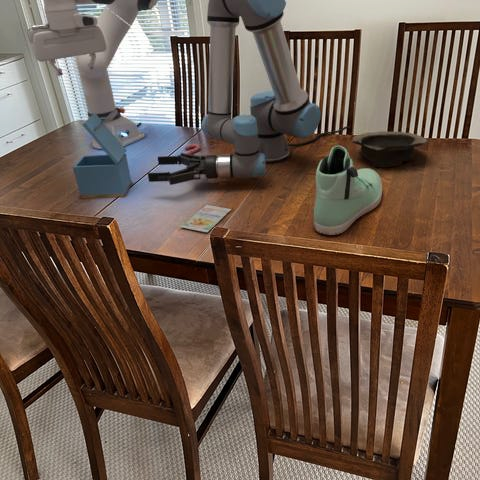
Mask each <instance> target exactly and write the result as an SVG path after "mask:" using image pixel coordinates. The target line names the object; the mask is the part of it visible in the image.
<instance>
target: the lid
mask: <svg viewBox="0 0 480 480" xmlns="http://www.w3.org/2000/svg"><path fill="white" fill-rule="evenodd" d="M117 114H118V111H117V110H113V111H112V112H111V114H110V115H109V116H108V117H107V118H105V119H104V120H103V121H101V119H100V118H99V117H98V116H97V115H96V113H94V114H93V115H92V116H91V117H90V118H87V119H86V120H85V121H84V122H83V123H82V124H81V126H82V127H83V128H84V129H85V130H86V131H87V133H88V134H89V135H90V136H91V137H93V138H94V139H95V141H96V142H97V143H98V144H99V145H100V146H101V148H102V149H101V150H103V151H104V152H105V154H106V155H108V156H109V157H110V158H111V159H112V160H113V161H114V163H115V164H117V163H118V162H119V161H120V160H121V158H122V157H123V155H124V154H126V153H127V149H126V148H125V146H124V147H123V146H122V144H121V143H120V142H119V141H118V140H117V138H116V137H115V136H114V135H113V134H112V133H111V131H110V130H109V129H108V128H107V127H106V125H105V123H107V122H111V121H112V120H113V119H114V117H115V116H116V115H117Z"/></svg>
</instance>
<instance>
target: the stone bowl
mask: <svg viewBox="0 0 480 480" xmlns="http://www.w3.org/2000/svg"><path fill="white" fill-rule="evenodd" d="M428 142H429V140H428V139H427V138H425V137H423V136H421V135H418V134H415V133H412V132H404V131H376V132H375V131H374V132H373V131H372V132H364V133H362V134H356V135H355V136H353V137H352V141H351V143H353V144H355V145H358V146H360V149H361V153H362V154H363V156H364V157H365V158H366V159H367V160H370V161H371V166H373V167H376V168H377V167H380V168H389V167H397V166H400V165H402V162H403V161H404V162H408V161H409V162H410V161H412V160H413V157H414V153H415V148H416V147H419V146H423V145H424V144H426V143H428Z"/></svg>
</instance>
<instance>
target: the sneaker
mask: <svg viewBox="0 0 480 480" xmlns="http://www.w3.org/2000/svg"><path fill="white" fill-rule="evenodd" d="M317 165H318V166H317V168H316V172H315V201H314V207H313V225H314V229H315V231H316V232H318V233H320V234H323V235H326V236H327V235H328V236H336V235H339V234H342V233H344V232H345V231H347V230H348V229H349V228H350V227H351V226H352V225H353V224H354V222H356V221H357V220H358V219H359V218H360V217H362V216H363V215H365V214H367V213H370V212H372V210H374V209H375V208H377V207H378V205H380V203H381V200H382V196H383V184H382V183H383V182H382V179H381V176H380V175H379V173H378V172H377V171H376V170H374V169H372V168H367V167H365V168H358V169H357V168H355V167H354V161H353V159H352V158H351V156H350V153H349V152H348V150H347V148H345V147H344V146H342V145H334V146H333V147H331V149H330V151H329V154H327V155H326V156H325V157H324V158H322V159H321V160H320V161H319V163H318V164H317ZM343 230H344V231H343ZM319 231H320V232H319ZM322 232H323V233H322ZM339 232H340V233H339ZM326 233H327V234H326ZM328 233H329V234H328ZM335 233H337V234H335Z"/></svg>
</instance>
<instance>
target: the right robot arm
mask: <svg viewBox="0 0 480 480" xmlns="http://www.w3.org/2000/svg"><path fill="white" fill-rule="evenodd" d="M286 5H287V2H286V0H208V3H207V15H206V16H207V17H206V23H207V24H208V25H209V27H210V28H209V29H210V30H209V31H210V32H209V35H210V36H209V68H208V69H209V70H208V71H209V72H208V108H207V110H208V113H207V114H206V115H204V116H203V118H202V121H201V123H200V126H201V127H200V128H201V131H202V132H203V134H204V135H206V136H207V137H210V138H211V139H214V140H217V141H218V140H219V141H220V142H221V141H222V142H225V143H227V144H230V145H233V147H234V154H233V153H227V154H226V153H225V154H224V153H223V154H218V155H217V154H207V155H197V154H193V153H192V154H186V152H181V153H180V154H178V155H166V156H157V164H158V166H166V165H167V166H168V165H170V166H171V165H183V166H185V168H183V169H178V170H177V171H173V172H170V171H165V172H163V171H162V172H147V178H148V182H149V183H155V182H157V183H158V182H169V185H170V186H172V185H173V186H174V185H177V184H181V183H185V182H190V181H196V180H197V181H198V180H201V179H202V177H201V176H202V175H204V176H205V178H206V179H208V180H211V179H212V180H214V179H218V178H219V179H226V180H229V179H234V178H235V179H236V178H237V179H239V178H240V179H241V178H242V179H243V178H245V179H246V178H251V179H254V178H261V177H265V175H266V172H267V164H271V163H279V162H282V161H284V160H286V159H288V158H289V157H290V155H291V154H290V153H291V152H290V151H291V150H290V147H299V146H303V145H307V144H310V143H312V142H314V141H316V140H317V139H318V138H319V137H322V136H325V135H333V134H339V133H342V132H343V131H345V130H352V127H350V126H349V125H347V126H346V125H345V126H344V127H342V128H340V129H338V130H332V131H325V132H320V133H319V134H316V136H315V137H313V138H312V139H309V140H306V141H302V142H297V143H288V142H287V139H286V136H289V137H293V138H296V139H303V140H304V139H308V138H310V137H312V136H313V134H314V133H315V132H316V131H317V129H318V128H319V125H320V121H321V115H322V113H321V109H320V107H319V105H318V104H316V103H314V102H312V103H311V101H310V97H309V93H308V92H307V91H306V90H305V89H303V88H301V84H300V81H299V78H298V75H297V71H296V67H295V64H294V61H293V58H292V54H291V51H290V48H289V44H288V41H287V38H286V35H285V32H284V29H283V25H282V24H283V23H282V22H281V21H282V19H283V17H284V13H285V12H284V11H285V8H286ZM240 18H241V21H242V23H243V27H244V28H245V30H246V31H248V32H250V33H252V35H253V39H254V40H255V44H256V47H257V49H258V52H259V55H260V58H261V60H262V64H263V67H264V69H265V72H266V75H267V78H268V80H269V84H270V87H271V89H272V90H267V91H266V90H265V91H261V92H258V93H255V94H253V95H252V96H251V98H250V106H249V108H250V114H240V115H236V116H235V117H233V118H232V109H233V88H234V69H235V67H234V66H235V46H236V29H237V27H238V26H239V25H240ZM184 156H185V157H184Z"/></svg>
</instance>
